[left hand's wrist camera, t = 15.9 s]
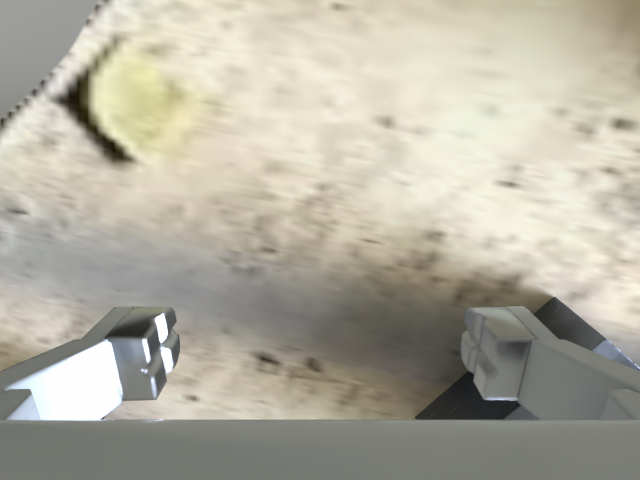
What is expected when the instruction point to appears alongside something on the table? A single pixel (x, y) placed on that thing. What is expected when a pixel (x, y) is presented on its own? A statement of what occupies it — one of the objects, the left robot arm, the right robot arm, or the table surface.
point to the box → (470, 405)
